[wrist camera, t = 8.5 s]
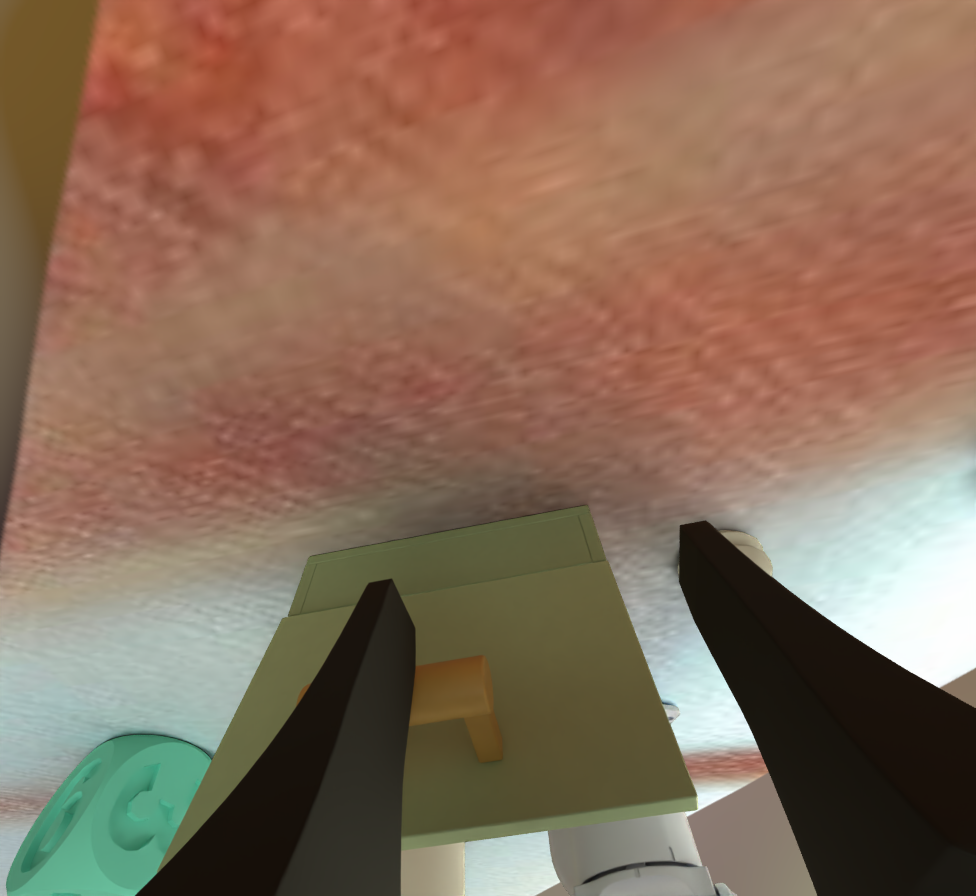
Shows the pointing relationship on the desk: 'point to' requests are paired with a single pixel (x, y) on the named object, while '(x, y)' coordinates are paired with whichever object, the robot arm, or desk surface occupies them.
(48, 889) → the decorative dice
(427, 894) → the eye dropper bottle
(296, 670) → the lid
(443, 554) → the chest
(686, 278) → the desk surface
